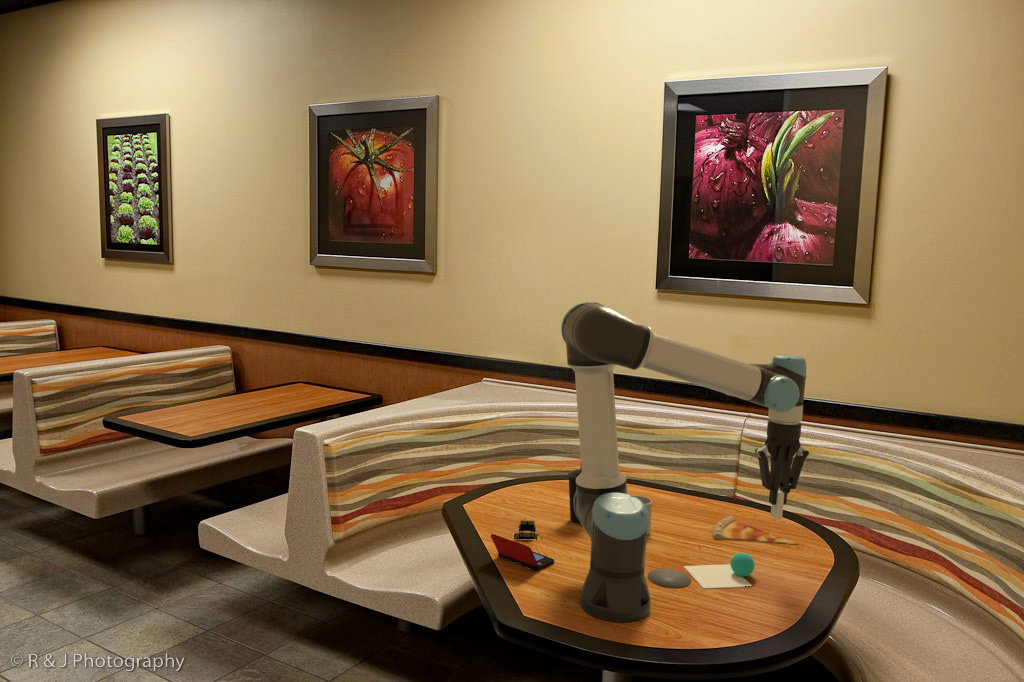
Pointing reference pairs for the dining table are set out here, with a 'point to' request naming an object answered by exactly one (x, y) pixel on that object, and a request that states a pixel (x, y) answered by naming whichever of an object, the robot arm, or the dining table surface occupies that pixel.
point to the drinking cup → (573, 493)
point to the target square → (716, 576)
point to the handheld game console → (520, 554)
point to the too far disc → (669, 578)
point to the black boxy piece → (526, 527)
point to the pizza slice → (743, 532)
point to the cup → (649, 509)
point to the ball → (742, 564)
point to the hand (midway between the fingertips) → (776, 517)
